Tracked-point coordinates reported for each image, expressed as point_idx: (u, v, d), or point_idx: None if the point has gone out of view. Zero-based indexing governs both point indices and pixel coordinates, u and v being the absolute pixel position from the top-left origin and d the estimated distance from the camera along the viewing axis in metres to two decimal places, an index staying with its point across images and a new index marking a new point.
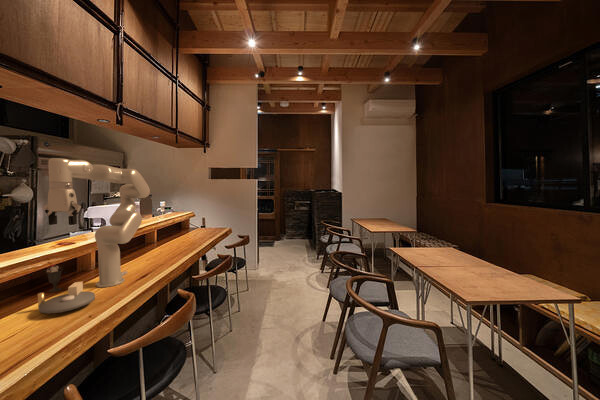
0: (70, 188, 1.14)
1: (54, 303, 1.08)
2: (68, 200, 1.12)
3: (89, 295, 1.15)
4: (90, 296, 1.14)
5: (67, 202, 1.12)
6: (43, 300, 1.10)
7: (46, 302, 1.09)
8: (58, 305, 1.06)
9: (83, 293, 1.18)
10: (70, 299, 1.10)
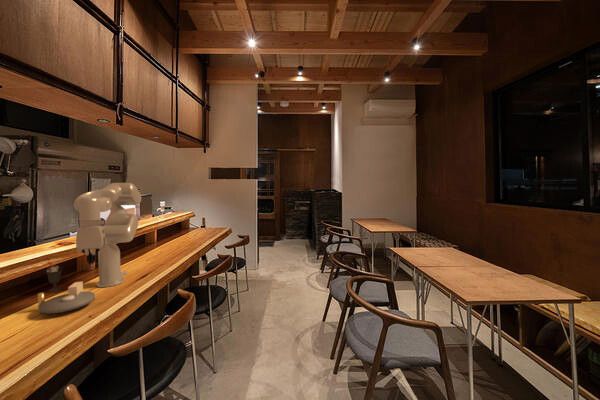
0: (100, 225, 1.21)
1: (54, 303, 1.08)
2: (102, 237, 1.20)
3: (89, 295, 1.15)
4: (90, 296, 1.14)
5: (101, 238, 1.19)
6: (43, 300, 1.10)
7: (46, 302, 1.09)
8: (58, 305, 1.06)
9: (83, 293, 1.18)
10: (70, 299, 1.10)
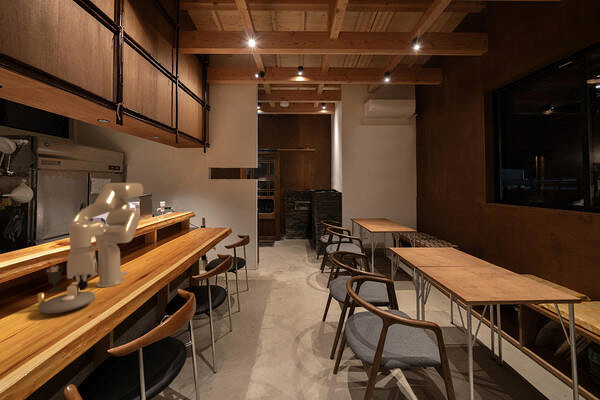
0: (91, 251, 1.20)
1: (54, 303, 1.08)
2: (93, 263, 1.19)
3: (89, 295, 1.16)
4: (90, 296, 1.15)
5: (93, 265, 1.19)
6: (43, 300, 1.10)
7: (45, 303, 1.08)
8: (59, 305, 1.06)
9: (82, 293, 1.18)
10: (70, 299, 1.11)
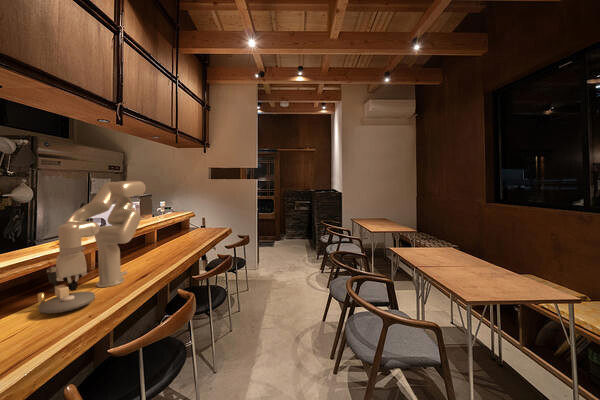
0: None
1: (58, 304, 1.07)
2: (85, 262, 1.20)
3: (86, 293, 1.18)
4: (89, 293, 1.18)
5: (85, 264, 1.20)
6: (43, 300, 1.10)
7: (44, 306, 1.05)
8: (68, 304, 1.07)
9: (73, 294, 1.17)
10: (73, 298, 1.12)
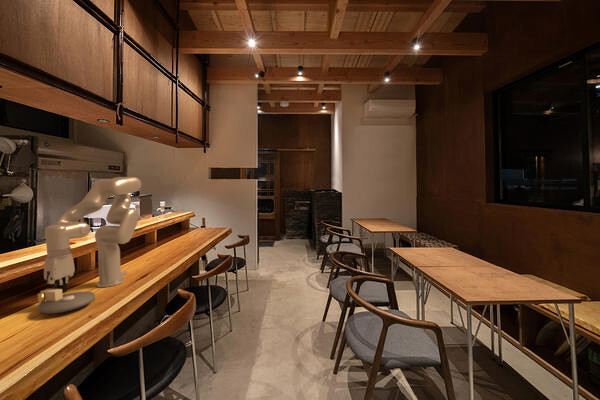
0: None
1: (63, 304, 1.07)
2: None
3: (80, 293, 1.18)
4: (84, 292, 1.19)
5: None
6: (43, 300, 1.10)
7: (49, 307, 1.04)
8: (76, 301, 1.09)
9: (64, 296, 1.15)
10: (74, 297, 1.12)
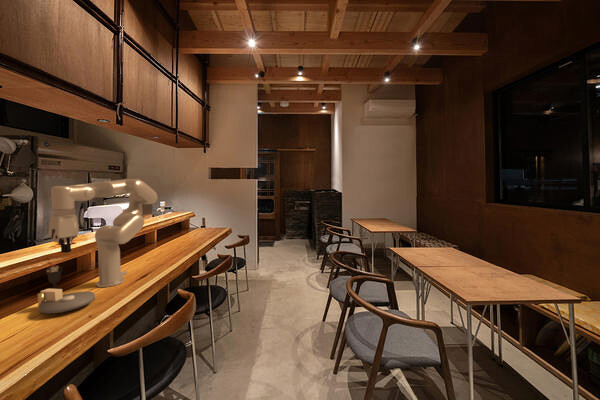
0: None
1: (63, 304, 1.07)
2: None
3: (80, 293, 1.18)
4: (84, 292, 1.19)
5: None
6: (43, 300, 1.10)
7: (49, 307, 1.04)
8: (76, 301, 1.09)
9: (64, 296, 1.15)
10: (74, 297, 1.12)
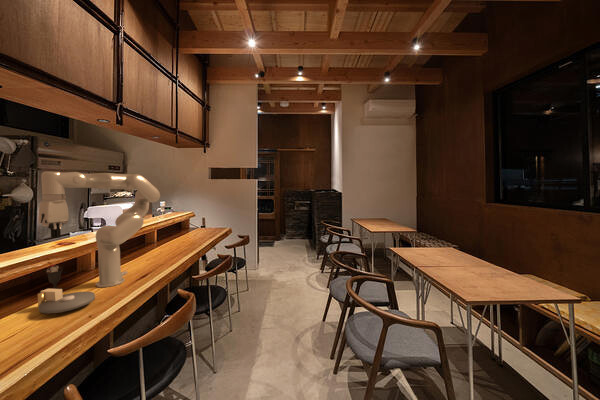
0: None
1: (63, 304, 1.07)
2: None
3: (80, 293, 1.18)
4: (84, 292, 1.19)
5: None
6: (43, 300, 1.10)
7: (49, 307, 1.04)
8: (76, 301, 1.09)
9: (64, 296, 1.15)
10: (74, 297, 1.12)
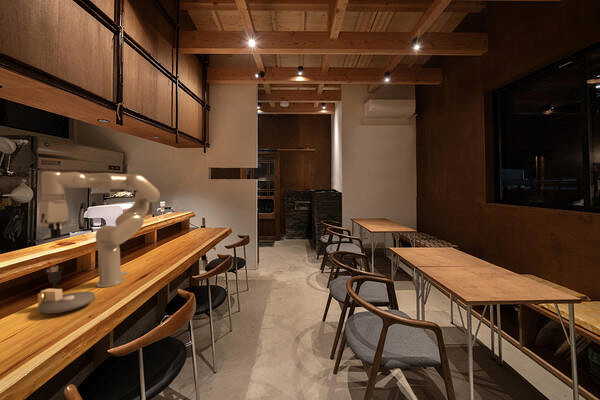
0: None
1: (63, 304, 1.07)
2: None
3: (80, 293, 1.18)
4: (84, 292, 1.19)
5: None
6: (43, 300, 1.10)
7: (49, 307, 1.04)
8: (76, 301, 1.09)
9: (64, 296, 1.15)
10: (74, 297, 1.12)
